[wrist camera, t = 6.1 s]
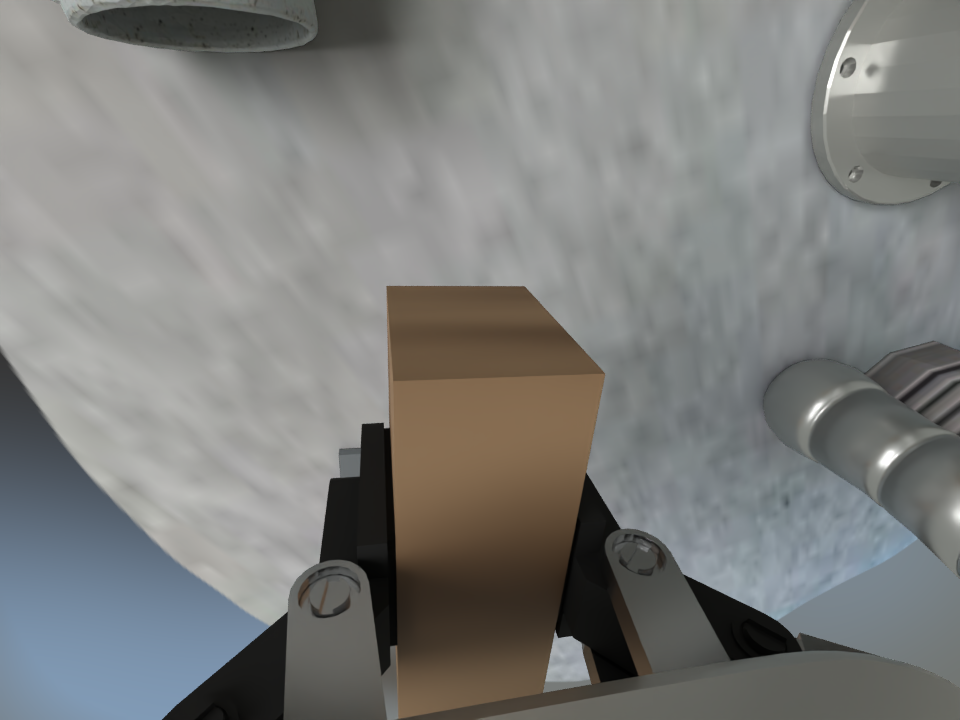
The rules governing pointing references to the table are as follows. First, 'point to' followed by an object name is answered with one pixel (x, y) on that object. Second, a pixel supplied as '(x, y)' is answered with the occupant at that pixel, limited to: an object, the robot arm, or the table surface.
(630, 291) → the table surface
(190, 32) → the ceramic mug
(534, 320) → the tall brown block
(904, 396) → the ribbed tin
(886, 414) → the silver bottle
